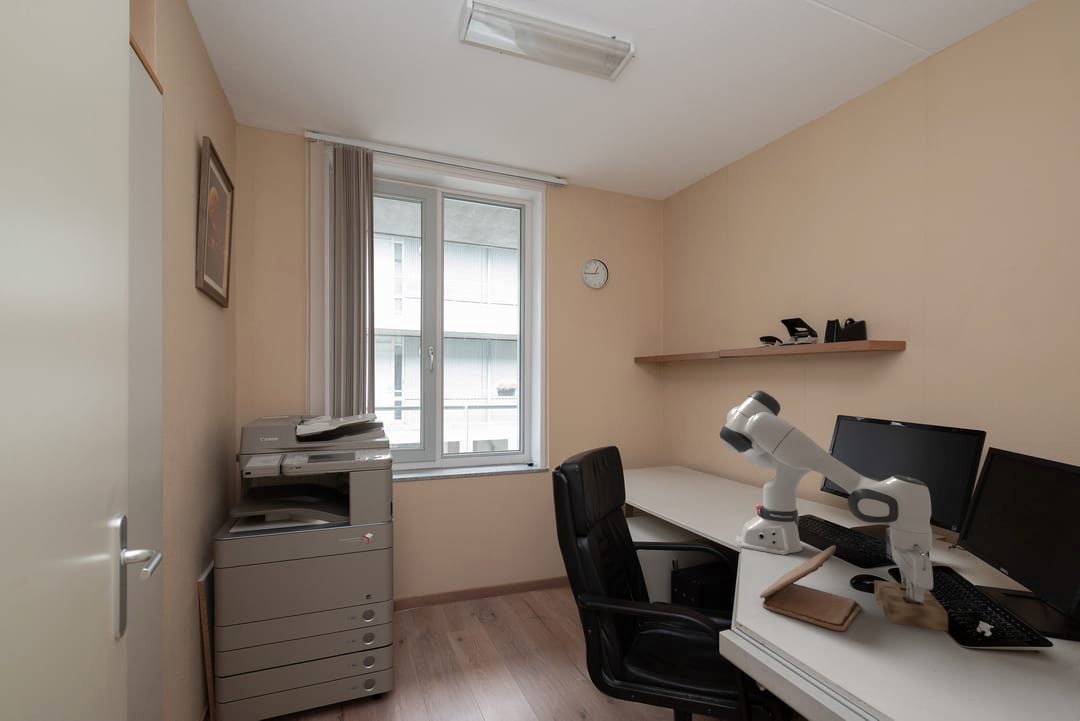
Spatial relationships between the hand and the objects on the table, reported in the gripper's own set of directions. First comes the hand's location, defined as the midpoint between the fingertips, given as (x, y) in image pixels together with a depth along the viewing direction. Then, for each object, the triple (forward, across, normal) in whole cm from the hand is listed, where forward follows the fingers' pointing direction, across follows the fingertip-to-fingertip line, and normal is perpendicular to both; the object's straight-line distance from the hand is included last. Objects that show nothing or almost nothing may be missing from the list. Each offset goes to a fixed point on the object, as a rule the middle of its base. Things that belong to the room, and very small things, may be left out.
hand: (912, 592), depth 128 cm
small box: (+7, +46, -11) cm, 48 cm away
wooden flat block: (+7, +4, 0) cm, 7 cm away
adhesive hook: (+7, -2, -15) cm, 17 cm away
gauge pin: (+7, 0, 0) cm, 7 cm away
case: (+7, -2, +24) cm, 25 cm away
